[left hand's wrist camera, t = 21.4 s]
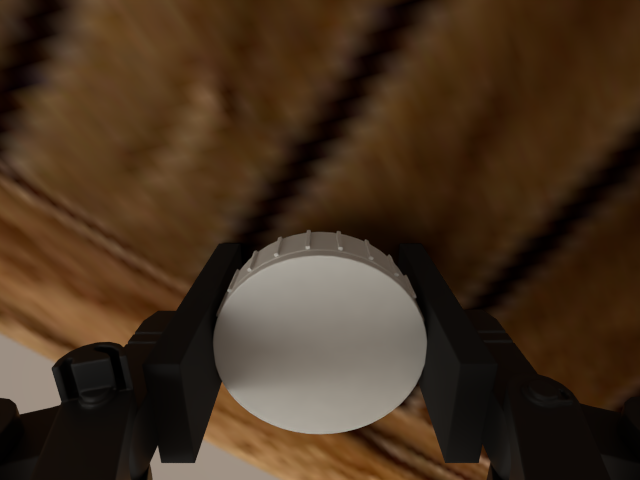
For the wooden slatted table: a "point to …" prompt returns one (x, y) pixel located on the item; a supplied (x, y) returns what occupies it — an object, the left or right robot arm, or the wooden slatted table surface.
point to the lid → (319, 334)
